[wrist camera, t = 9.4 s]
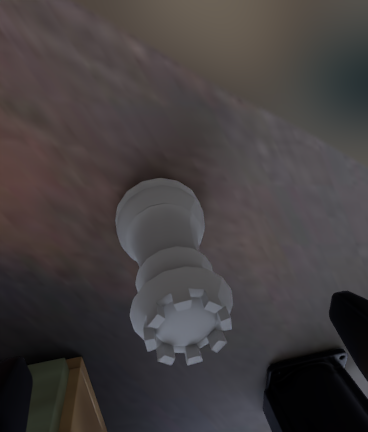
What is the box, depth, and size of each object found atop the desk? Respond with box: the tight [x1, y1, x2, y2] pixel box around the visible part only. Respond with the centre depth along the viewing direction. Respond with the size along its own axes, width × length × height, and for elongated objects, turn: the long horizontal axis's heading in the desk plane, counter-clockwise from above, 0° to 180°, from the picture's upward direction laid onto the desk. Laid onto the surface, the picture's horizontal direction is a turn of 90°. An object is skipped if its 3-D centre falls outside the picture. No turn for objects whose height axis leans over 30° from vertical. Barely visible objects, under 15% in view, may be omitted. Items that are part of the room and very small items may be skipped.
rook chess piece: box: [115, 178, 233, 366], centre depth 12 cm, size 4×4×8 cm
